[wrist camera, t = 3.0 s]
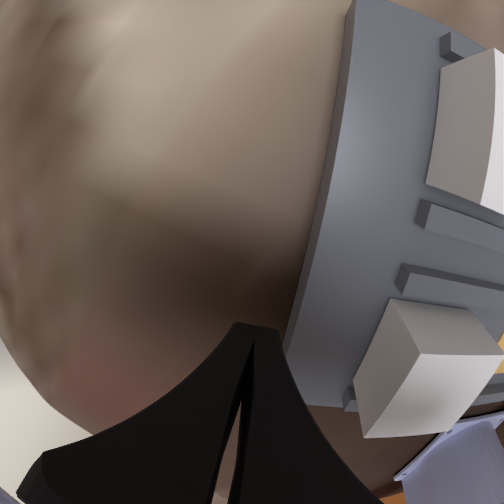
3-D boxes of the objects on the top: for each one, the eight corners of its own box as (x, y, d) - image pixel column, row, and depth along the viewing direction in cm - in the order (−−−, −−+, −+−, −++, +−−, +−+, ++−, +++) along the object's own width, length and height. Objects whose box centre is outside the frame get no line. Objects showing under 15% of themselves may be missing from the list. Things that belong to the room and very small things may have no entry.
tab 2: (428, 382, 10) (448, 431, 7) (352, 380, 10) (363, 438, 8) (469, 310, 9) (505, 354, 6) (390, 297, 9) (420, 353, 6)
